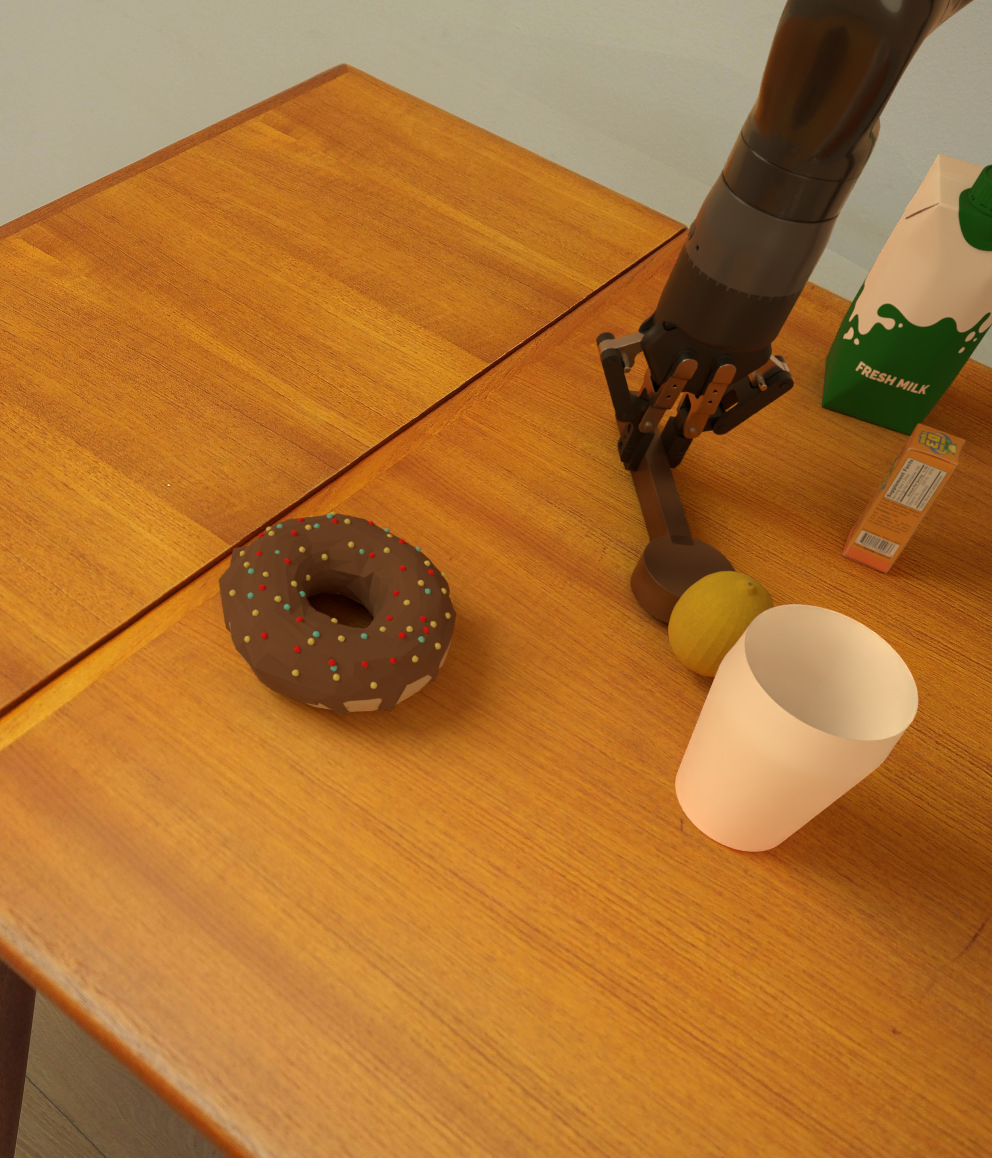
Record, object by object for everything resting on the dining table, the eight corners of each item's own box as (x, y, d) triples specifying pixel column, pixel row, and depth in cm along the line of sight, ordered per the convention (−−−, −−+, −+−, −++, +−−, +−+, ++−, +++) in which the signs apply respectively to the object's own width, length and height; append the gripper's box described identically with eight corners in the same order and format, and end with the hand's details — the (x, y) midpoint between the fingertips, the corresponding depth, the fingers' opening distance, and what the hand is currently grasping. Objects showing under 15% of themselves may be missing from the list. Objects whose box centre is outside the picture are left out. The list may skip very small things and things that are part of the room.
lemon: (651, 691, 79) (706, 611, 73) (646, 620, 83) (698, 538, 76) (741, 709, 79) (803, 631, 73) (732, 637, 83) (791, 556, 76)
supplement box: (846, 527, 92) (919, 417, 84) (894, 549, 91) (973, 440, 83) (835, 554, 90) (910, 444, 82) (885, 577, 89) (965, 468, 81)
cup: (622, 792, 74) (707, 658, 65) (704, 711, 78) (793, 575, 70) (762, 903, 70) (872, 776, 61) (839, 810, 75) (951, 680, 66)
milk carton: (808, 410, 101) (946, 176, 86) (815, 347, 107) (945, 118, 92) (924, 448, 99) (1084, 216, 85) (924, 381, 105) (1074, 155, 91)
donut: (327, 524, 85) (342, 467, 82) (487, 655, 79) (511, 600, 76) (161, 622, 78) (170, 564, 74) (324, 775, 72) (341, 721, 68)
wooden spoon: (585, 411, 96) (596, 385, 95) (664, 421, 97) (676, 395, 95) (639, 623, 82) (653, 597, 80) (732, 634, 82) (748, 608, 80)
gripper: (650, 276, 76) (555, 490, 89) (874, 307, 77) (749, 514, 90) (627, 206, 81) (541, 418, 94) (839, 236, 82) (725, 441, 95)
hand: (643, 464), depth 92 cm, fingers closed, pressing on wooden spoon
